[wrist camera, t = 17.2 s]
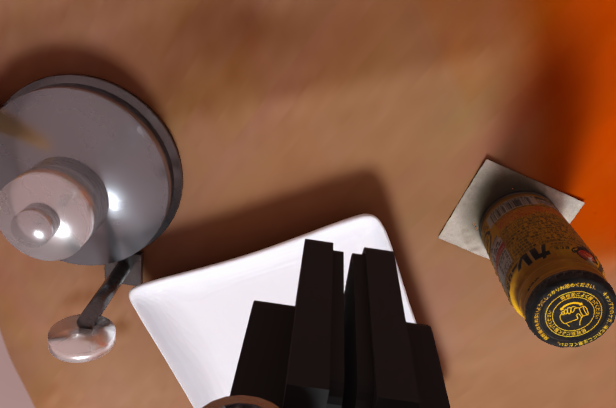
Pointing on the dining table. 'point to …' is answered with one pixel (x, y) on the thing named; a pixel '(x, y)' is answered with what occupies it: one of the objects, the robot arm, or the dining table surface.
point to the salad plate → (236, 303)
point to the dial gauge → (94, 317)
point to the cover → (53, 208)
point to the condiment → (535, 254)
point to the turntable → (94, 160)
